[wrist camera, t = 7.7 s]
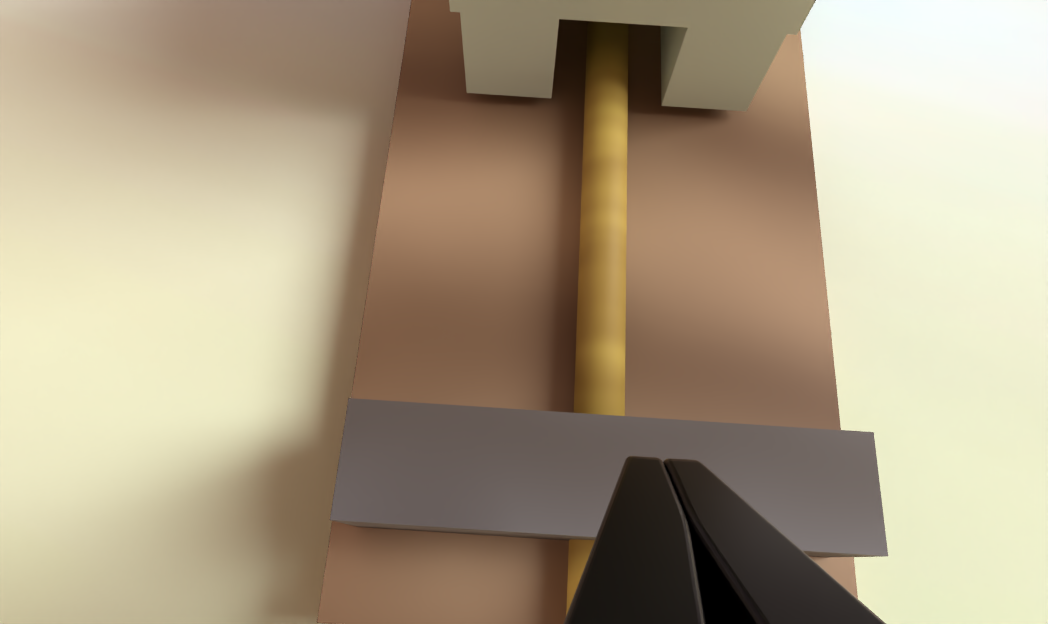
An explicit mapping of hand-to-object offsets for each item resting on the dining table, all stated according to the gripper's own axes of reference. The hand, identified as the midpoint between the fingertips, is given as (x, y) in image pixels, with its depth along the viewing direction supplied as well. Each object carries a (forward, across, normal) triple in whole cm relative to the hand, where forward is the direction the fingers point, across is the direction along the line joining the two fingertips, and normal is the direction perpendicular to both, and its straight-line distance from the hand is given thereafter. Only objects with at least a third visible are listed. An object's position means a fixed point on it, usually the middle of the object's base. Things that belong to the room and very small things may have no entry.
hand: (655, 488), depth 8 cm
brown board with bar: (+11, 0, -2) cm, 11 cm away
